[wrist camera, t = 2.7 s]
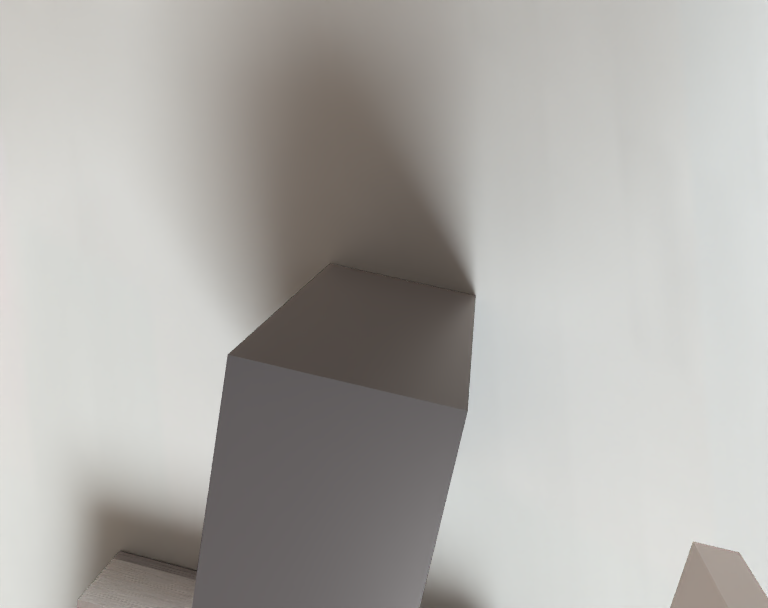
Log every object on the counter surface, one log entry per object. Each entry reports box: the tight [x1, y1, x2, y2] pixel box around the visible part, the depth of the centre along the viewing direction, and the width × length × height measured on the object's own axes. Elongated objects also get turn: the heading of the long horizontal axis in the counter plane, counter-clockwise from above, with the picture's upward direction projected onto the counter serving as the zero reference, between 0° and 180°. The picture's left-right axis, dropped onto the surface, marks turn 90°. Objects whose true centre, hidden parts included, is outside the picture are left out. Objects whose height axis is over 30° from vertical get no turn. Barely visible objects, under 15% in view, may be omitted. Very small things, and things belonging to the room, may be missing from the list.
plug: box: [192, 264, 476, 608], centre depth 16 cm, size 5×4×8 cm
